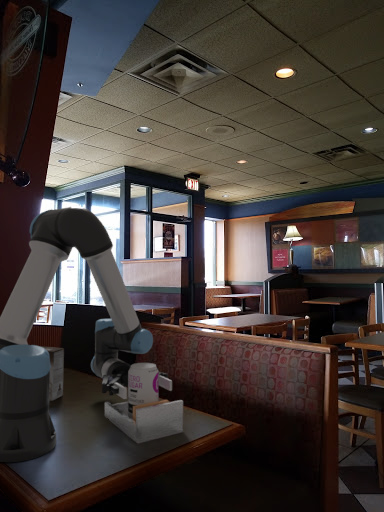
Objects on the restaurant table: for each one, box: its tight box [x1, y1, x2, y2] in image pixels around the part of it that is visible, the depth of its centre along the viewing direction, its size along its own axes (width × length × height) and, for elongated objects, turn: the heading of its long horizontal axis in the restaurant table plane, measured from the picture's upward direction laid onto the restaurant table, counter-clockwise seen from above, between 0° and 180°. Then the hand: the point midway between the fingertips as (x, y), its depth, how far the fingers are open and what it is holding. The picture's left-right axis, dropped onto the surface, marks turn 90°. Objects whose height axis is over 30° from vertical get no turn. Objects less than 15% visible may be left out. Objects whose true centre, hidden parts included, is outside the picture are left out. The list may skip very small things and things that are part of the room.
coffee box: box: [41, 345, 65, 402], centre depth 133 cm, size 9×6×16 cm
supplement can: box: [127, 362, 159, 420], centre depth 109 cm, size 8×8×15 cm
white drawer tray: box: [104, 399, 184, 444], centre depth 110 cm, size 22×13×8 cm, turn 33°
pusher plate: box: [133, 399, 170, 422], centre depth 105 cm, size 1×10×6 cm, turn 123°
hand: (148, 389), depth 107 cm, fingers open, 13 cm apart
